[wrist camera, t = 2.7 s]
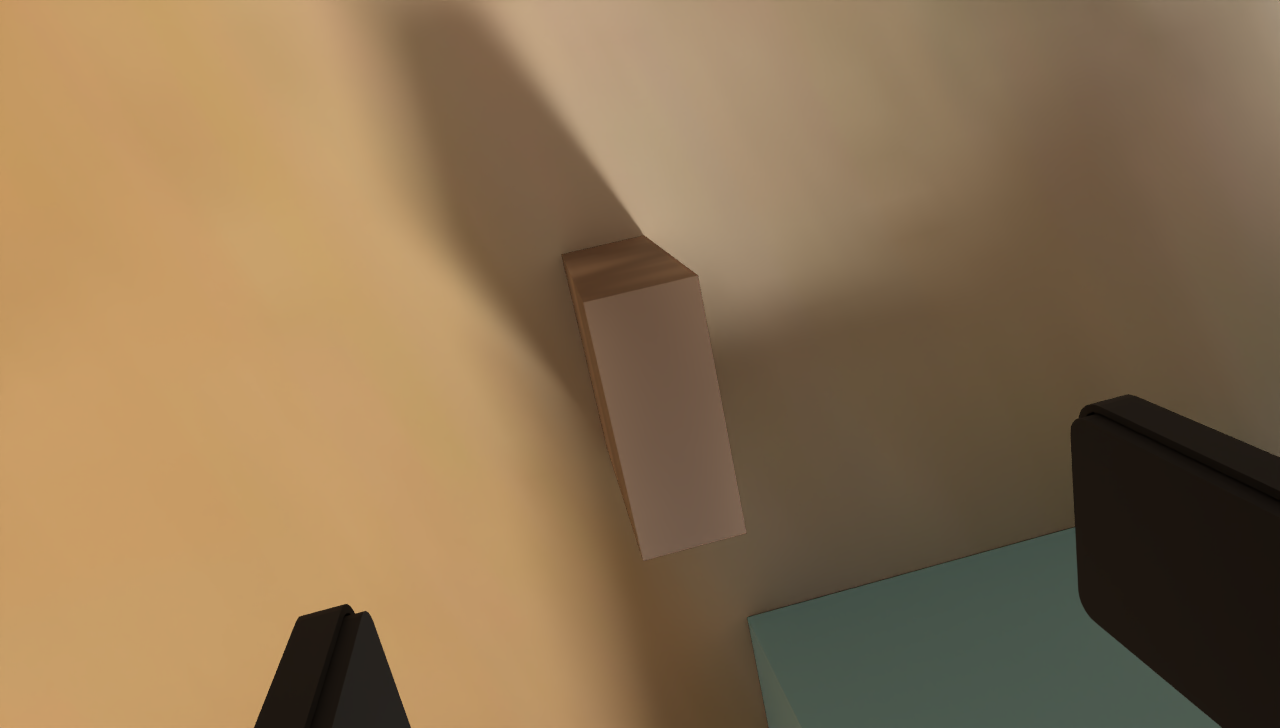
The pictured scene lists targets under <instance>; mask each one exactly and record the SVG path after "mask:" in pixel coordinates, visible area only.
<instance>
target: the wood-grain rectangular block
mask: <svg viewBox="0 0 1280 728" xmlns="http://www.w3.org/2000/svg"><path fill="white" fill-rule="evenodd" d="M561 255H562V259H563V263H564V268H565V272H566V276H567V280H568V285H569V289H570V293H571V297H572V302H573V306H574V310H575V314H576V318H577V323H578V327H579V331H580V335H581V340H582V344H583V348H584V352H585V357H586V361H587V365H588V369H589V374H590V378H591V382H592V386H593V391H594V395H595V399H596V403H597V407H598V412H599V416H600V420H601V424H602V429H603V433H604V437H605V441H606V446H607V449H608V452H609V456H610V459H611V462H612V465H613V468H614V471H615V474H616V477H617V481H618V484H619V487H620V490H621V493H622V496H623V499H624V502H625V505H626V509H627V512H628V515H629V518H630V521H631V524H632V527H633V530H634V533H635V537H636V540H637V543H638V546H639V549H640V552H641V555H642V558H643V561H645V560H648V559H652V558H656V557H660V556H663V555H667V554H671V553H675V552H678V551H682V550H686V549H690V548H693V547H697V546H701V545H705V544H708V543H712V542H716V541H720V540H723V539H727V538H731V537H735V536H738V535H742V534H746V528H745V522H744V517H743V512H742V506H741V501H740V496H739V491H738V485H737V480H736V475H735V469H734V464H733V459H732V453H731V448H730V443H729V438H728V432H727V427H726V422H725V416H724V411H723V406H722V400H721V395H720V390H719V385H718V379H717V374H716V369H715V363H714V358H713V353H712V347H711V342H710V337H709V332H708V326H707V321H706V316H705V310H704V305H703V300H702V294H701V289H700V284H699V279H698V275H697V274H695V273H694V272H693V271H691V270H690V269H689V268H687V267H686V266H685V265H683V264H682V263H680V262H679V261H678V260H676V259H675V258H674V257H672V256H671V255H670V254H668V253H667V252H666V251H664V250H663V249H662V248H660V247H659V246H658V245H656V244H655V243H654V242H652V241H651V240H650V239H648V238H647V237H645V236H639V237H635V238H631V239H626V240H622V241H618V242H613V243H609V244H605V245H600V246H596V247H592V248H587V249H583V250H579V251H574V252H570V253H566V254H561Z"/></svg>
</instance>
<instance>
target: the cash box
mask: <svg viewBox="0 0 1280 728" xmlns="http://www.w3.org/2000/svg"><path fill="white" fill-rule="evenodd" d="M747 619H748V624H749V629H750V634H751V639H752V645H753V650H754V655H755V660H756V665H757V670H758V675H759V681H760V686H761V691H762V696H763V701H764V706H765V711H766V716H767V722H768V727H769V728H1222V727H1220V726H1219V725H1218V724H1217V723H1216V722H1214V721H1213V720H1212V719H1211V718H1210V717H1208V716H1207V715H1206V714H1205V713H1204V712H1202V711H1201V710H1200V709H1199V708H1198V707H1196V706H1195V705H1194V704H1193V703H1192V702H1190V701H1189V700H1188V699H1187V698H1186V697H1184V696H1183V695H1182V694H1181V693H1180V692H1178V691H1177V690H1176V689H1175V688H1174V687H1172V686H1171V685H1170V684H1169V683H1168V682H1166V681H1165V680H1164V679H1163V678H1161V677H1160V676H1159V675H1158V674H1157V673H1155V672H1154V671H1153V670H1152V669H1151V668H1149V667H1148V666H1147V665H1146V664H1145V663H1143V662H1142V661H1141V660H1140V659H1139V658H1137V657H1136V656H1135V655H1134V654H1133V653H1131V652H1130V651H1129V650H1128V649H1127V648H1125V647H1124V646H1123V645H1122V644H1121V643H1119V642H1118V641H1117V640H1116V639H1115V638H1113V637H1112V636H1111V635H1110V634H1109V633H1107V632H1106V631H1105V630H1104V629H1103V628H1101V627H1100V626H1099V625H1098V624H1097V623H1095V622H1094V621H1093V620H1092V619H1091V618H1090V617H1089V615H1088V614H1087V613H1086V611H1085V609H1084V608H1083V606H1082V604H1081V601H1080V598H1079V592H1078V575H1077V555H1076V534H1075V527H1074V528H1070V529H1067V530H1063V531H1059V532H1056V533H1052V534H1048V535H1045V536H1041V537H1038V538H1034V539H1030V540H1027V541H1023V542H1019V543H1016V544H1012V545H1009V546H1005V547H1001V548H998V549H994V550H990V551H987V552H983V553H980V554H976V555H972V556H969V557H965V558H961V559H958V560H954V561H950V562H947V563H943V564H940V565H936V566H932V567H929V568H925V569H921V570H918V571H914V572H911V573H907V574H903V575H900V576H896V577H892V578H889V579H885V580H881V581H878V582H874V583H871V584H867V585H863V586H860V587H856V588H852V589H849V590H845V591H842V592H838V593H834V594H831V595H827V596H823V597H820V598H816V599H813V600H809V601H805V602H802V603H798V604H794V605H791V606H787V607H783V608H780V609H776V610H773V611H769V612H765V613H762V614H758V615H754V616H751V617H747Z"/></svg>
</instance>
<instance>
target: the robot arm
mask: <svg viewBox="0 0 1280 728" xmlns="http://www.w3.org/2000/svg"><path fill="white" fill-rule="evenodd" d="M1071 452H1072V473H1073V493H1074V514H1075V534H1076V555H1077V575H1078V592H1079V598H1080V601H1081V604H1082V606H1083V608H1084V609H1085V611H1086V613H1087V614H1088V615H1089V617H1090V618H1091V619H1092V620H1093V621H1094V622H1095V623H1097V624H1098V625H1099V626H1100V627H1101V628H1103V629H1104V630H1105V631H1106V632H1107V633H1109V634H1110V635H1111V636H1112V637H1113V638H1115V639H1116V640H1117V641H1118V642H1119V643H1121V644H1122V645H1123V646H1124V647H1125V648H1127V649H1128V650H1129V651H1130V652H1131V653H1133V654H1134V655H1135V656H1136V657H1137V658H1139V659H1140V660H1141V661H1142V662H1143V663H1145V664H1146V665H1147V666H1148V667H1149V668H1151V669H1152V670H1153V671H1154V672H1155V673H1157V674H1158V675H1159V676H1160V677H1161V678H1163V679H1164V680H1165V681H1166V682H1168V683H1169V684H1170V685H1171V686H1172V687H1174V688H1175V689H1176V690H1177V691H1178V692H1180V693H1181V694H1182V695H1183V696H1184V697H1186V698H1187V699H1188V700H1189V701H1190V702H1192V703H1193V704H1194V705H1195V706H1196V707H1198V708H1199V709H1200V710H1201V711H1202V712H1204V713H1205V714H1206V715H1207V716H1208V717H1210V718H1211V719H1212V720H1213V721H1214V722H1216V723H1217V724H1218V725H1219V726H1220V727H1222V728H1280V457H1277V456H1275V455H1273V454H1270V453H1268V452H1266V451H1263V450H1261V449H1258V448H1256V447H1254V446H1251V445H1249V444H1247V443H1244V442H1242V441H1240V440H1237V439H1235V438H1233V437H1230V436H1228V435H1226V434H1223V433H1221V432H1219V431H1216V430H1214V429H1212V428H1209V427H1207V426H1205V425H1202V424H1200V423H1197V422H1195V421H1193V420H1190V419H1188V418H1186V417H1183V416H1181V415H1179V414H1176V413H1174V412H1172V411H1169V410H1167V409H1165V408H1162V407H1160V406H1158V405H1155V404H1153V403H1151V402H1148V401H1146V400H1144V399H1141V398H1139V397H1137V396H1133V395H1129V394H1128V395H1124V396H1120V397H1116V398H1112V399H1109V400H1105V401H1101V402H1097V403H1094V404H1090V405H1086V406H1085V407H1084V408H1083V409H1082V410H1081V412H1080V415H1079V419H1076V420H1075V421H1074V422H1073V424H1072V426H1071ZM254 728H411V727H410V724H409V721H408V718H407V716H406V713H405V710H404V707H403V704H402V701H401V699H400V696H399V693H398V690H397V687H396V684H395V682H394V679H393V676H392V673H391V670H390V668H389V665H388V662H387V659H386V656H385V653H384V651H383V648H382V645H381V642H380V639H379V637H378V634H377V631H376V628H375V625H374V622H373V620H372V618H371V616H370V614H369V613H368V612H367V611H364V612H360V613H356V614H355V613H354V611H353V609H352V608H351V606H349V605H348V604H344V605H341V606H337V607H333V608H329V609H326V610H322V611H318V612H314V613H311V614H307V615H303V616H300V617H299V618H298V619H297V621H296V623H295V626H294V628H293V631H292V633H291V636H290V638H289V641H288V643H287V646H286V648H285V651H284V653H283V656H282V658H281V661H280V663H279V666H278V669H277V671H276V674H275V676H274V679H273V681H272V684H271V686H270V689H269V691H268V694H267V696H266V699H265V701H264V704H263V706H262V709H261V711H260V714H259V716H258V719H257V722H256V724H255V727H254Z"/></svg>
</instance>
